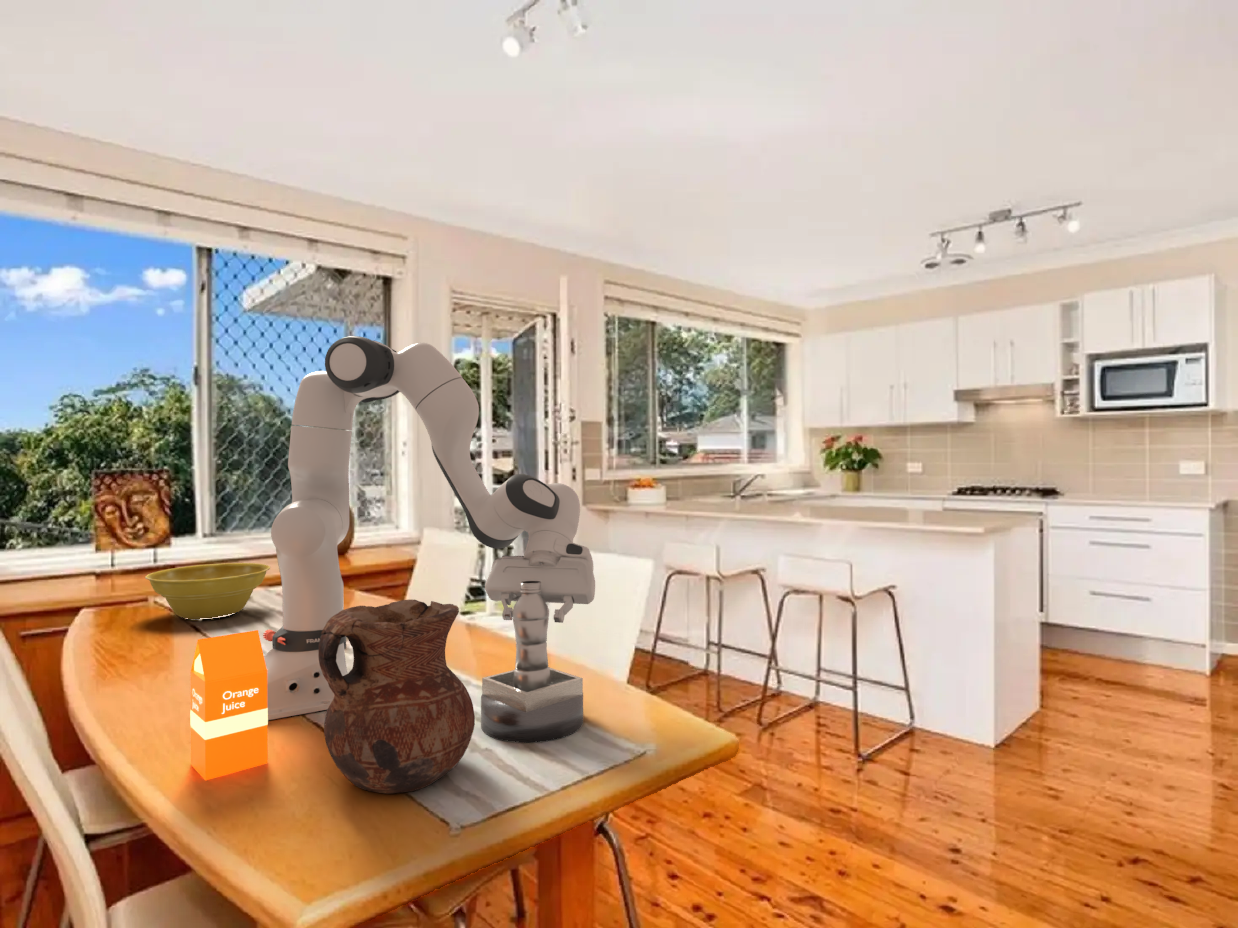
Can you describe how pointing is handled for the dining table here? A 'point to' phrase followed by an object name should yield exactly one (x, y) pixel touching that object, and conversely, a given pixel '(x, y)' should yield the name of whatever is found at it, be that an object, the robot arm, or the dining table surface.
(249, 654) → the orange juice
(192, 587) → the planter bowl
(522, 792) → the dining table surface
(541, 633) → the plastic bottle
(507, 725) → the disc with square tube
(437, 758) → the jug
